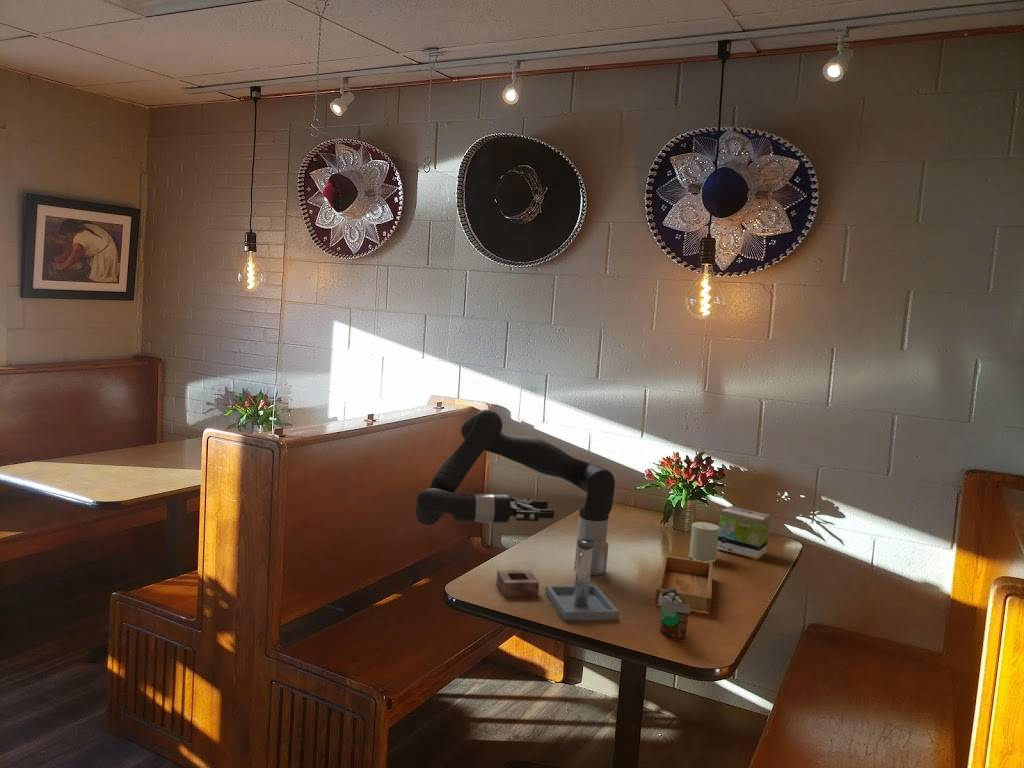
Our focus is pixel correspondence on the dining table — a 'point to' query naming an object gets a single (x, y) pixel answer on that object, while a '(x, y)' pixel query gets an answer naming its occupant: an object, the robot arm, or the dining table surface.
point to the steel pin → (583, 572)
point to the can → (704, 541)
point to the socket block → (517, 583)
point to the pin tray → (595, 610)
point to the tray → (687, 581)
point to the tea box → (743, 531)
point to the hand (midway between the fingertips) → (550, 509)
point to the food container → (673, 614)
